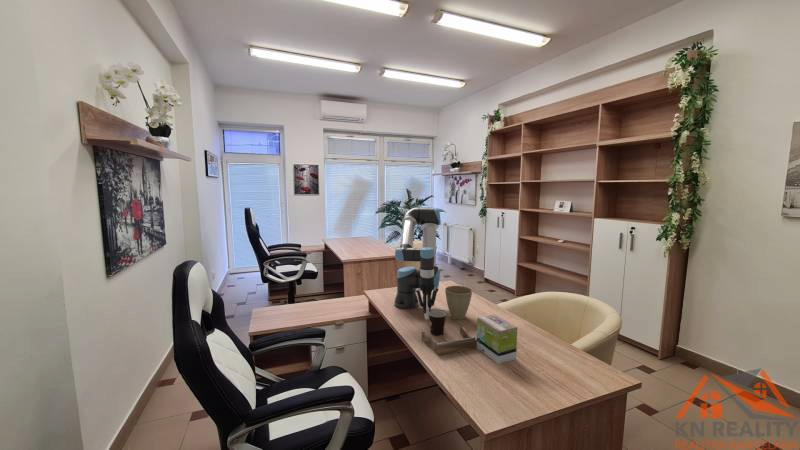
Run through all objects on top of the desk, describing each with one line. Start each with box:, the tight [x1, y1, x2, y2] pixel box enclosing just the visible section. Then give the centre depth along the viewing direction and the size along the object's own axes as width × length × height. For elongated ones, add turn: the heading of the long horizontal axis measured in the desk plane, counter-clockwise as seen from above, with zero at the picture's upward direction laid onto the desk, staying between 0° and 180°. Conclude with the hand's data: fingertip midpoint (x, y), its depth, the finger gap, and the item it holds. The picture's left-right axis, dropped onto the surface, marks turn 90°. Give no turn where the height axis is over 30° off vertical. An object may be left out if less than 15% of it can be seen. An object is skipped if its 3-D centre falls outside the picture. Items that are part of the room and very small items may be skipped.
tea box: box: [476, 314, 518, 365], centre depth 138 cm, size 15×10×15 cm
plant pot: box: [444, 285, 473, 320], centre depth 178 cm, size 15×15×16 cm
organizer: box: [421, 325, 478, 356], centre depth 147 cm, size 16×22×5 cm
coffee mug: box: [428, 309, 447, 337], centre depth 160 cm, size 12×9×10 cm
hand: (426, 318), depth 173 cm, fingers closed
